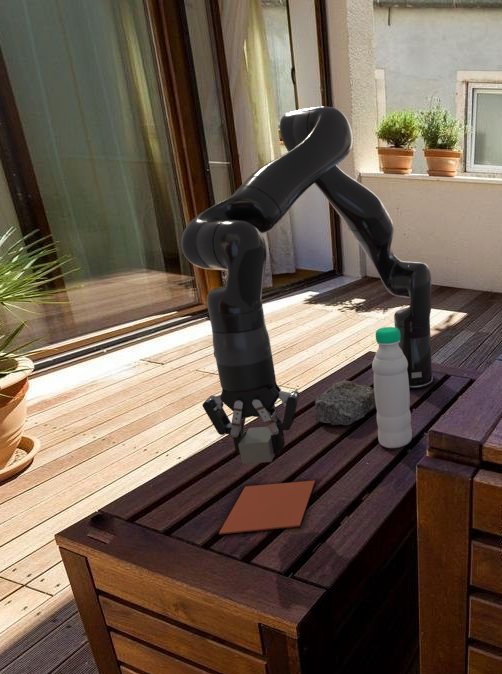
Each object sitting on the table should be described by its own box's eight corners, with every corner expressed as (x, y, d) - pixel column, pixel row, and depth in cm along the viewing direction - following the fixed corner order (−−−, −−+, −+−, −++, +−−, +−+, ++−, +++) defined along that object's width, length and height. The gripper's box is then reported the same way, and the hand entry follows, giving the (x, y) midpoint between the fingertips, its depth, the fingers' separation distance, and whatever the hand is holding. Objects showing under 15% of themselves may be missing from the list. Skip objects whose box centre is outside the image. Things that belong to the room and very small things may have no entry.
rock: (352, 432, 104) (385, 405, 118) (351, 406, 102) (385, 381, 116) (303, 423, 107) (341, 397, 121) (300, 397, 105) (339, 374, 119)
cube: (252, 446, 79) (249, 427, 78) (280, 444, 80) (277, 425, 78) (241, 464, 74) (238, 444, 73) (271, 461, 75) (268, 442, 74)
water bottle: (401, 452, 96) (393, 336, 88) (371, 446, 98) (361, 332, 90) (418, 435, 103) (412, 326, 94) (389, 430, 105) (381, 322, 97)
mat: (245, 487, 85) (245, 486, 85) (315, 481, 87) (315, 480, 86) (219, 534, 73) (218, 533, 73) (299, 526, 75) (299, 525, 75)
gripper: (299, 344, 76) (312, 438, 81) (203, 348, 74) (223, 444, 79) (287, 361, 69) (302, 462, 74) (181, 366, 67) (204, 469, 72)
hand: (261, 452), depth 77 cm, fingers closed on cube, 4 cm apart
